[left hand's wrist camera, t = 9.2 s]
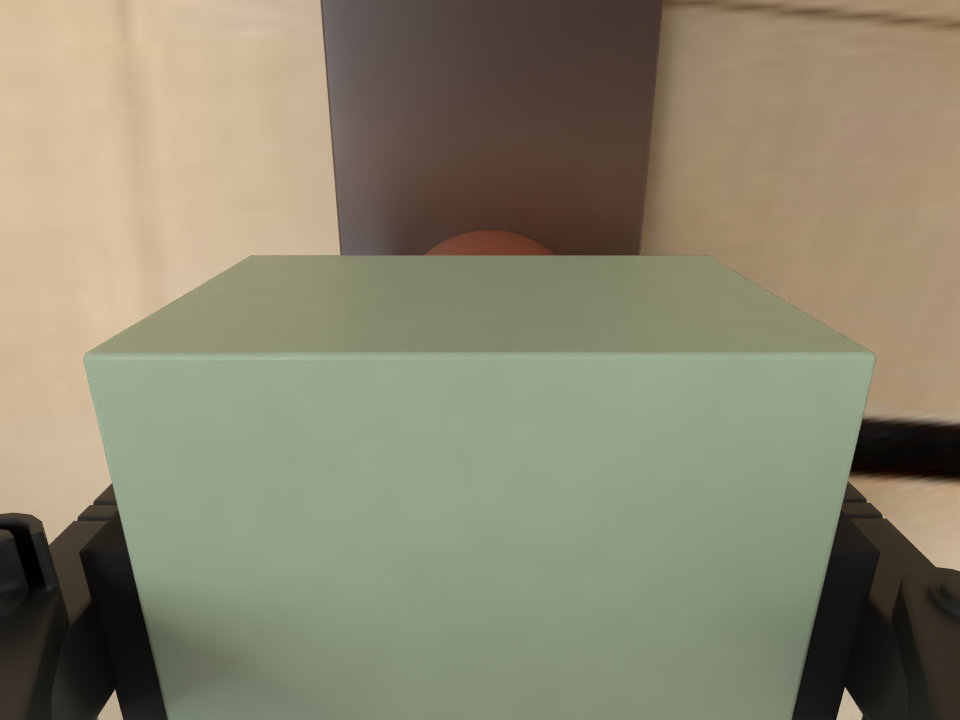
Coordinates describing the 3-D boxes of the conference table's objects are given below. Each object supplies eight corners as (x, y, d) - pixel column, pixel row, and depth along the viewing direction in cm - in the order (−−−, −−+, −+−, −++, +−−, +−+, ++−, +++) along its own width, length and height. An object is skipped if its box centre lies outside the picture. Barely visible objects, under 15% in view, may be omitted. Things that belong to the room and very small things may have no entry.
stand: (606, 456, 24) (675, 651, 15) (370, 455, 24) (304, 648, 16) (694, -641, 14) (1036, -1879, 5) (295, -637, 14) (-14, -1854, 5)
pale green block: (663, 620, 14) (757, 876, 9) (295, 620, 14) (202, 876, 9) (710, 254, 11) (881, 353, 6) (249, 254, 11) (77, 353, 6)
